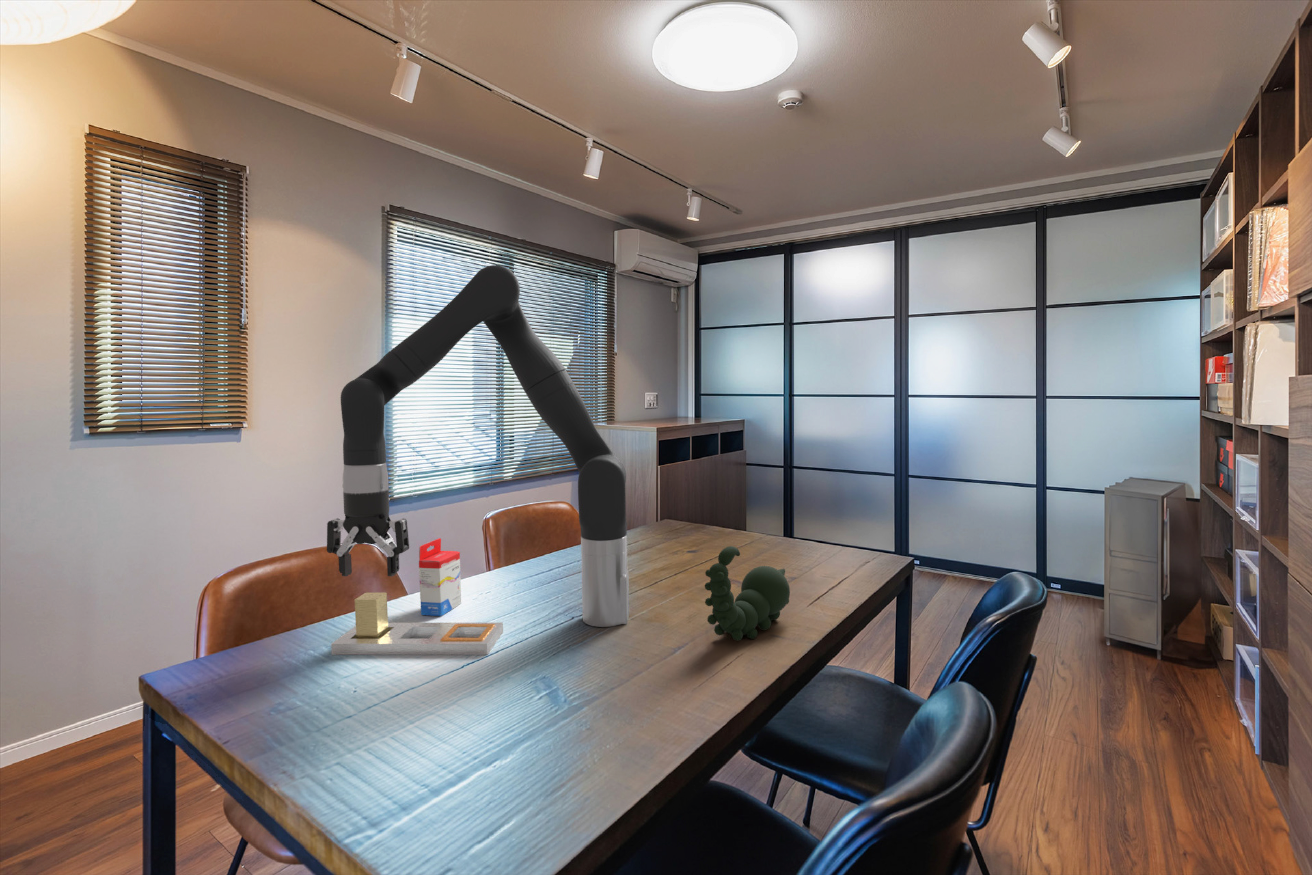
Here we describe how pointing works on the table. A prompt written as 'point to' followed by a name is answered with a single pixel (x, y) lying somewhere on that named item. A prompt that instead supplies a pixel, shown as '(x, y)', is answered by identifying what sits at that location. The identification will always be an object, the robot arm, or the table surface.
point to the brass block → (371, 616)
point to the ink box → (439, 579)
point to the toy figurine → (745, 597)
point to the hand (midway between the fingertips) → (369, 575)
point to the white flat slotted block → (423, 640)
